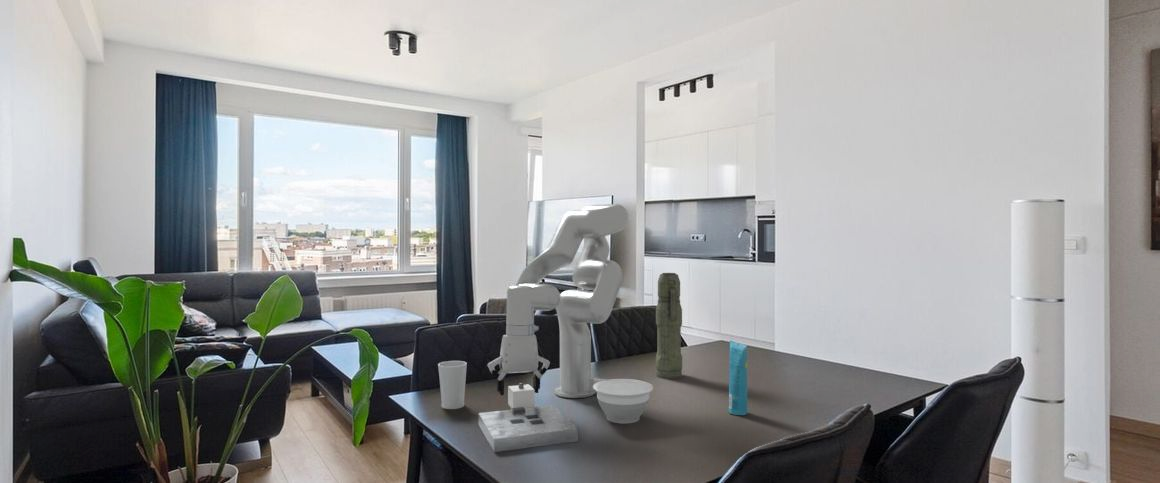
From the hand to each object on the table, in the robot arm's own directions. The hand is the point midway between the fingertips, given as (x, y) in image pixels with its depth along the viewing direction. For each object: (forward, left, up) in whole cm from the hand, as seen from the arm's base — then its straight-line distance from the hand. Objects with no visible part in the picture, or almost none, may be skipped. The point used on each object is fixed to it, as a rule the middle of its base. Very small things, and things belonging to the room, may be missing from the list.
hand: (518, 392), depth 162 cm
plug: (-1, -1, -5) cm, 5 cm away
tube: (-56, +21, -6) cm, 60 cm away
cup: (+16, -13, -6) cm, 21 cm away
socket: (+2, +16, -5) cm, 17 cm away
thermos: (-58, -22, -6) cm, 62 cm away
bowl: (-25, +14, -6) cm, 29 cm away
